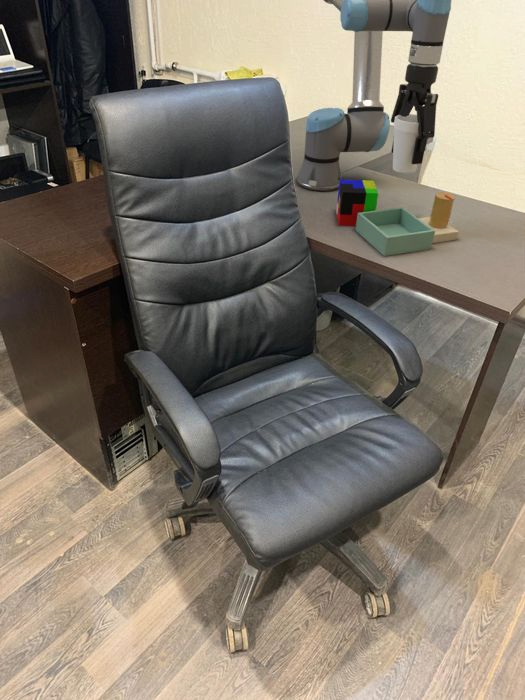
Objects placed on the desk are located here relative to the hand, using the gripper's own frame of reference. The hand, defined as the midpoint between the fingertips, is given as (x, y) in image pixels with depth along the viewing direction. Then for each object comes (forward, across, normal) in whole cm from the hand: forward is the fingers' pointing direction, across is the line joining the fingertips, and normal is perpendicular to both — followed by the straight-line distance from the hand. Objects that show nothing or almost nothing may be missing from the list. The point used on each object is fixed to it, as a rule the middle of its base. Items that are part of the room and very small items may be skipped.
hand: (406, 157), depth 142 cm
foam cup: (+3, 0, 0) cm, 3 cm away
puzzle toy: (+20, -9, -8) cm, 23 cm away
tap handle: (+18, +7, +10) cm, 21 cm away
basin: (+20, +7, -5) cm, 22 cm away
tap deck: (+20, +7, +9) cm, 23 cm away
